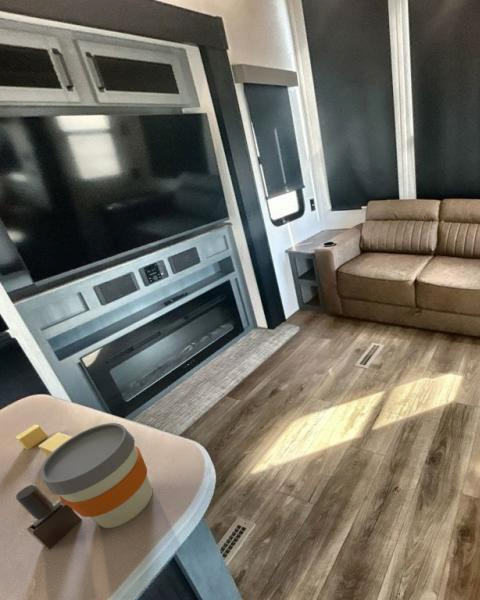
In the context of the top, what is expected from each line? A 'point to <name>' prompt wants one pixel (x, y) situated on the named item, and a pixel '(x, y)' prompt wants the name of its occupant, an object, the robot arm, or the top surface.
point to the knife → (37, 504)
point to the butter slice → (31, 436)
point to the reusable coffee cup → (100, 475)
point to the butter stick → (53, 443)
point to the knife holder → (55, 526)
